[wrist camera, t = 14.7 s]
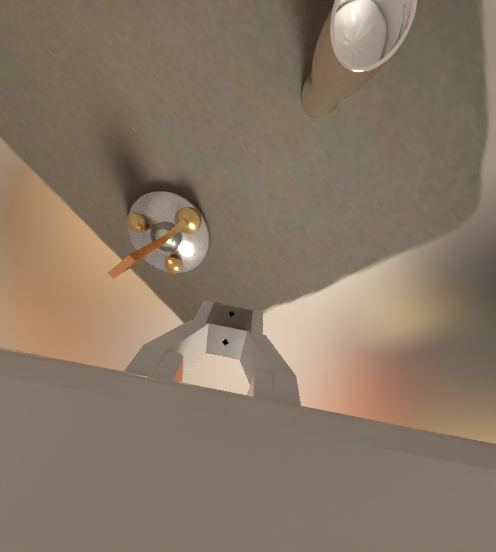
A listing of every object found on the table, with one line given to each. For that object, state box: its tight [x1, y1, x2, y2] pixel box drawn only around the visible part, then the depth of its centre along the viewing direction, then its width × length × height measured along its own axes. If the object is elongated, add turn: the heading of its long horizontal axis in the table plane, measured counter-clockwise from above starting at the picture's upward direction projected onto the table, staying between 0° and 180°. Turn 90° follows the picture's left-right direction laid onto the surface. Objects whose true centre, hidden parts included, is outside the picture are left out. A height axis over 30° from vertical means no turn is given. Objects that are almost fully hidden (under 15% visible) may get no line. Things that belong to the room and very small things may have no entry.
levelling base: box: [125, 191, 210, 274], centre depth 39 cm, size 17×17×3 cm
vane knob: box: [108, 207, 202, 278], centre depth 33 cm, size 14×5×12 cm, turn 126°
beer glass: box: [302, 0, 418, 118], centre depth 22 cm, size 7×7×15 cm
